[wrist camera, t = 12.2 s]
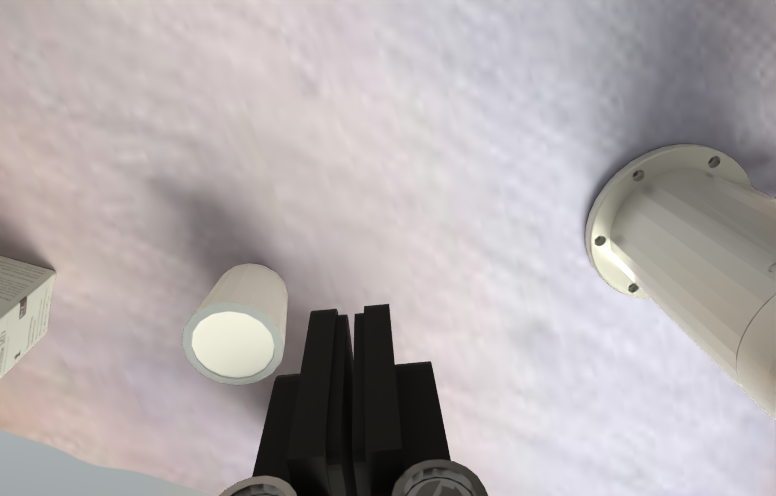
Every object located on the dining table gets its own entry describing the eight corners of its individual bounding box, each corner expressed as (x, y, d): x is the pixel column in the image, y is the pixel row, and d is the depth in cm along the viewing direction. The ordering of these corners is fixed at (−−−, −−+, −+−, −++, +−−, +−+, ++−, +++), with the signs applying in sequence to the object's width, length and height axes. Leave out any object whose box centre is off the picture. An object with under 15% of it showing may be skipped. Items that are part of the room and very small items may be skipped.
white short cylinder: (213, 330, 42) (188, 387, 36) (203, 255, 39) (174, 303, 33) (297, 330, 43) (287, 386, 36) (293, 256, 40) (281, 303, 33)
